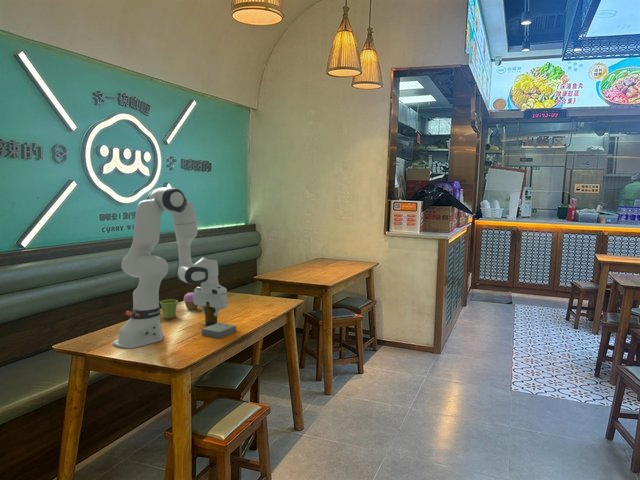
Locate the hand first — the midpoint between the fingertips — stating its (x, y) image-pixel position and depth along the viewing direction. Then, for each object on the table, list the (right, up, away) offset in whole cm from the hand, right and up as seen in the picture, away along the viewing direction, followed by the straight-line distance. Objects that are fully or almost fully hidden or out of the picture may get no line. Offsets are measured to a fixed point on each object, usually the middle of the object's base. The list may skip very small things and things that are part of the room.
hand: (210, 315), depth 238 cm
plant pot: (-25, -3, +13) cm, 28 cm away
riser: (+8, -6, -15) cm, 18 cm away
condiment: (+1, -5, 0) cm, 5 cm away
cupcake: (-18, -2, +29) cm, 34 cm away
